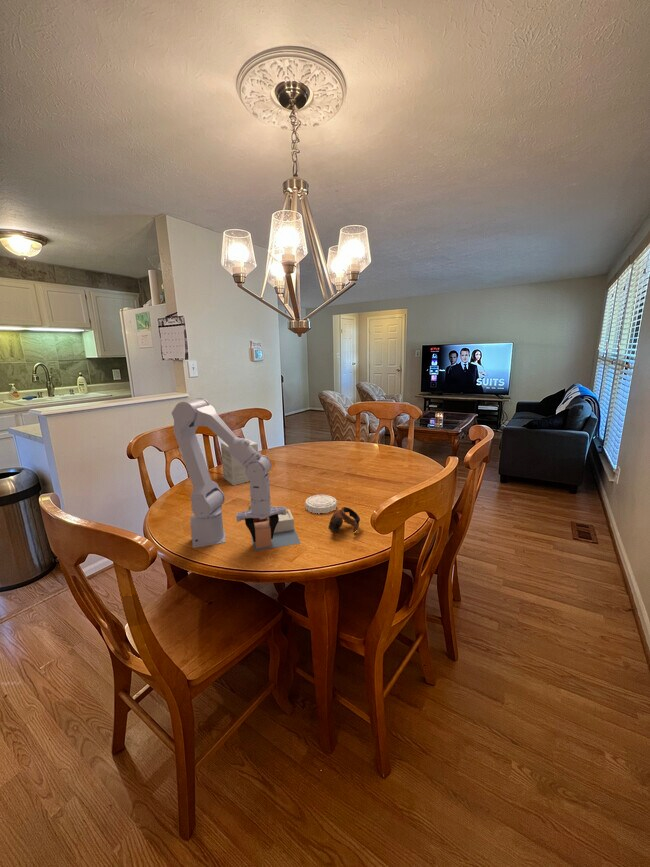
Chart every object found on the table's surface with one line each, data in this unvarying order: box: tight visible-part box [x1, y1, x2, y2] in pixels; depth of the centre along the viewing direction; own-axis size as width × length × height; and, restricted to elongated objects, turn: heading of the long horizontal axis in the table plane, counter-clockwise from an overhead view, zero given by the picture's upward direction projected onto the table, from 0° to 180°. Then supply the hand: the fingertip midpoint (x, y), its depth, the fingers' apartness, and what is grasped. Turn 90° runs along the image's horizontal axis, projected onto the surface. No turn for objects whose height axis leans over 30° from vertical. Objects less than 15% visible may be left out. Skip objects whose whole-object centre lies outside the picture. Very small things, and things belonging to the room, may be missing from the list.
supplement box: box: [220, 438, 259, 486], centre depth 157 cm, size 13×13×18 cm
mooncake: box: [304, 494, 338, 515], centre depth 127 cm, size 12×12×4 cm
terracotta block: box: [254, 520, 272, 548], centre depth 102 cm, size 4×4×6 cm
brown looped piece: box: [328, 506, 361, 534], centre depth 110 cm, size 12×10×8 cm
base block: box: [267, 509, 295, 533], centre depth 113 cm, size 8×8×4 cm
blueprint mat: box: [250, 528, 301, 552], centre depth 109 cm, size 14×17×1 cm
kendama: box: [247, 502, 268, 522], centre depth 124 cm, size 8×6×18 cm
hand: (262, 538), depth 102 cm, fingers closed on terracotta block, 4 cm apart
